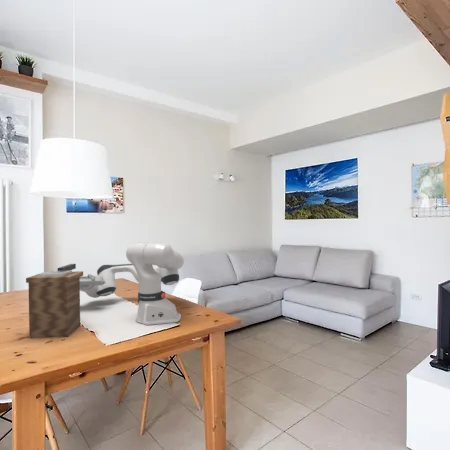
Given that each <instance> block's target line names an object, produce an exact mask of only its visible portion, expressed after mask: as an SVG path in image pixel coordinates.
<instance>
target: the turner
mask: <svg viewBox="0 0 450 450" xmlns="http://www.w3.org/2000/svg"><path fill="white" fill-rule="evenodd" d="M76 266H77V265H76V263H70V264H67V265H63V266H60V267H57V270H47V271H43V272H40V273H37V274H36V275H37V277H63V276H65V275H68V274H71V273H72V272H73V270H75V269H77V268H76Z"/></svg>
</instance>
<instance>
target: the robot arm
mask: <svg viewBox="0 0 450 450" xmlns="http://www.w3.org/2000/svg"><path fill="white" fill-rule="evenodd" d="M125 256H126V258H127V261H128V262H129V263H124V264H123V263H122V264H120V263H119V264H103V265H101V266H99V267H98V269H97V270H96V273H97V275H92V274H91V273H90V274H87V275H83V276H81V277H80V292H84V293H85V294H86V295H87V296H88V297H90V298H93V299H95V298H96V299H97V298H100V297H108V296H111V295H112V294H113V293H114V292H116V289H117V284H116V283H117V282H116V275H115V274H116V273H127V272H128V273H131V274H132V276H133V277H134V279H135V281H136V282H137V283H138V293H137V303H138V308H137V314H136V317H135V321H136V322H137V323H139V324H142V325H145V326H153V325H163V324H172V323H173V324H174V323H177V322H180V321H181V319H182V314H181V313H179V312H178V311H177V308H176V304H174V303H173V302H172V301H170V300H169V299H167V298H166V291H163V290H162V284H163V285H166V286H172V285H175V284H176V283H178V282H179V280H180V273H179V269H181V268H182V267H183V266H184V263H185V259H184V256H183V255H182V254H181V253H179V252H178V251H176V250H173V248H172V246H171V245H170V244H166V243H162V242H135V243H131V244H129V245H128V246H127V249H126V251H125Z"/></svg>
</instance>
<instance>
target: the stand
mask: <svg viewBox="0 0 450 450" xmlns="http://www.w3.org/2000/svg"><path fill="white" fill-rule="evenodd" d="M81 276H84V271H83V270H82V271H72V273H71V274H68V275H65V276H63V277H37V274H35V275H32V276H29V277H25V283H26V284H28V325H29V326H28V329H29V330H28V331H29V334H28V335H29V336H28V337H29V339H42V338H43V339H47V338H68V337H69V336H71V335H72V334H73V333H74V332H76V330H78V329H79V328H80V327H81V293H80V292H81V291H80V277H81Z"/></svg>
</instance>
